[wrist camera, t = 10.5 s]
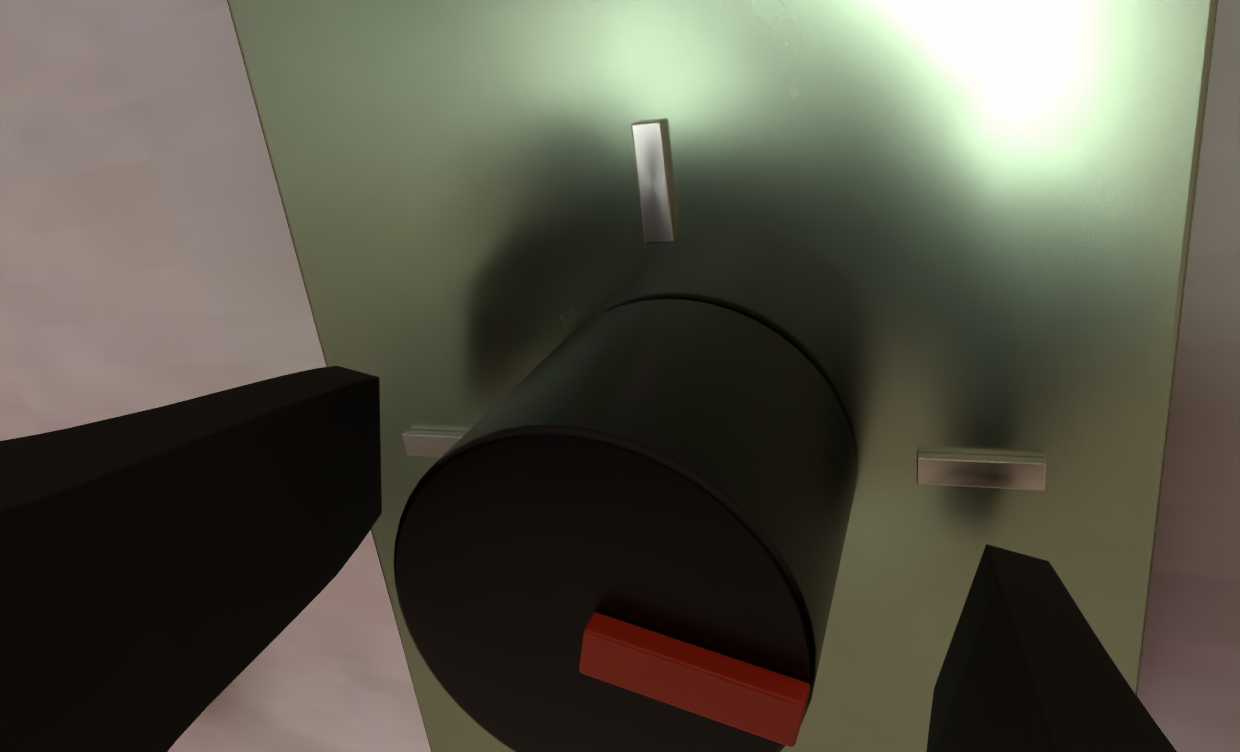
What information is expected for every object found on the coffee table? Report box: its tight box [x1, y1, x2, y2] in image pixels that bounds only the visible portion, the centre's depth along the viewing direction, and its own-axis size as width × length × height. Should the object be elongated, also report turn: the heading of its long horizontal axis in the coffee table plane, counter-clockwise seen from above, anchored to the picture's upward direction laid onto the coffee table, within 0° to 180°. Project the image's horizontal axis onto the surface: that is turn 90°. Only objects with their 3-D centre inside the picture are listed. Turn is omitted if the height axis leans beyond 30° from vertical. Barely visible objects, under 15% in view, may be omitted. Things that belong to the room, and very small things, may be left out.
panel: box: [227, 0, 1218, 752], centre depth 13 cm, size 13×11×3 cm
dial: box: [393, 299, 857, 752], centre depth 10 cm, size 4×4×4 cm
